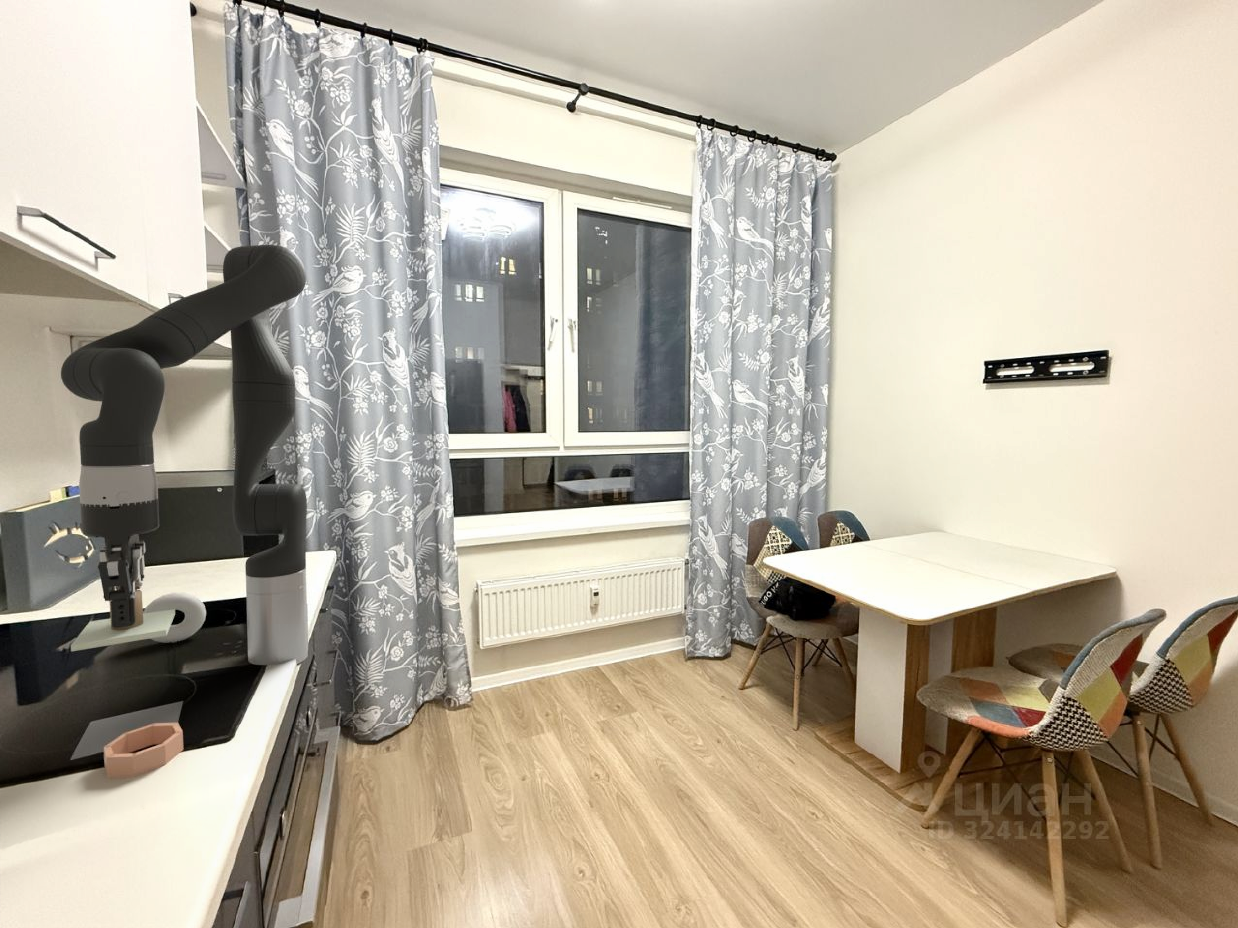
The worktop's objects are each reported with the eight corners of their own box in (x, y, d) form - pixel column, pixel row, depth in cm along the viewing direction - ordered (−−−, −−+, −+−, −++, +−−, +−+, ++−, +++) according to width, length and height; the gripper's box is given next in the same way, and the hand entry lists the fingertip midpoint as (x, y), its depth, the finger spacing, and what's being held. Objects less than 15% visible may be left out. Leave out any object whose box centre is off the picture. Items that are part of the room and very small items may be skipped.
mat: (91, 731, 72) (90, 721, 72) (183, 710, 78) (183, 700, 77) (70, 771, 64) (69, 759, 64) (175, 743, 69) (174, 733, 69)
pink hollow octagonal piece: (138, 752, 67) (137, 723, 67) (195, 750, 68) (194, 721, 68) (89, 789, 61) (87, 757, 60) (153, 786, 61) (151, 755, 61)
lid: (90, 626, 71) (88, 590, 70) (175, 614, 76) (173, 579, 76) (71, 651, 63) (68, 610, 63) (166, 635, 69) (164, 597, 68)
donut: (207, 633, 106) (206, 586, 105) (206, 638, 103) (204, 591, 102) (142, 644, 100) (140, 594, 99) (139, 650, 97) (137, 600, 96)
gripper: (94, 492, 72) (101, 610, 73) (64, 507, 60) (72, 647, 62) (165, 490, 76) (170, 601, 77) (149, 503, 65) (155, 633, 66)
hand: (127, 620), depth 70 cm, fingers closed on lid, 3 cm apart
